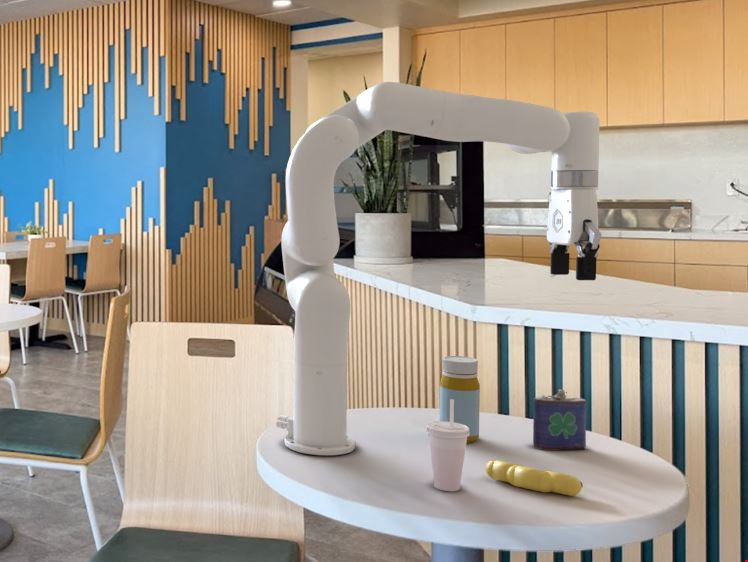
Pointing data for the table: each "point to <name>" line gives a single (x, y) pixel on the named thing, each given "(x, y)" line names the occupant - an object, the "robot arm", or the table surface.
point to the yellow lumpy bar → (534, 478)
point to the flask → (559, 422)
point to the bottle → (461, 393)
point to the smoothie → (447, 451)
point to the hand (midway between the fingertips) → (572, 277)
